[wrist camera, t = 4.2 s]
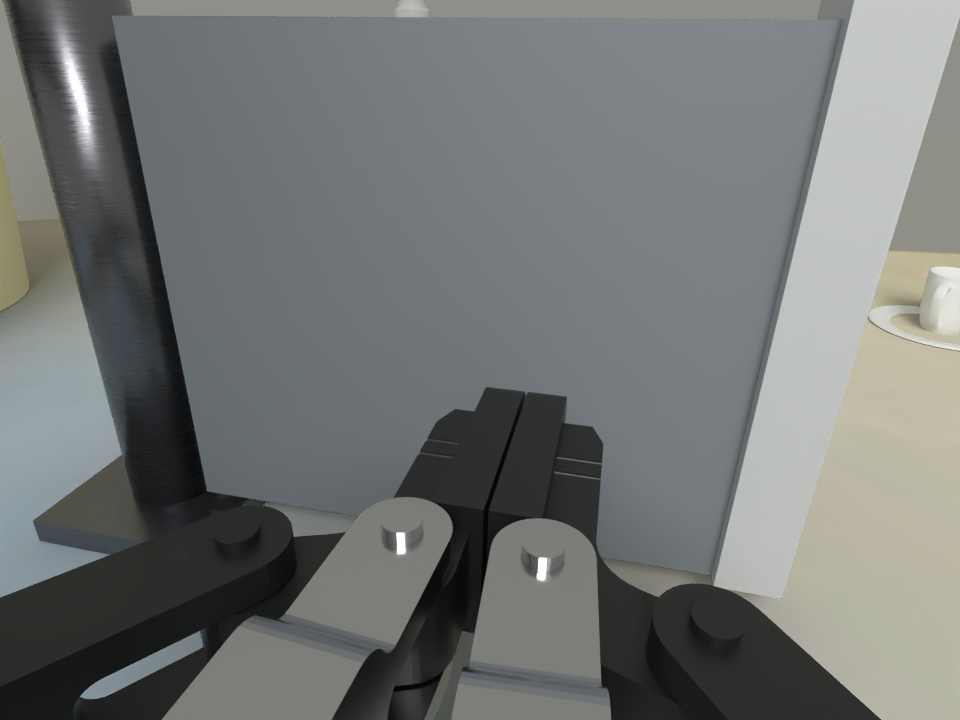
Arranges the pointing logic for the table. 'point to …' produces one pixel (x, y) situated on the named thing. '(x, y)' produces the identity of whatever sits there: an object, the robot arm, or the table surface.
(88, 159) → the gate post
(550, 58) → the gate
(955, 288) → the teacup and saucer
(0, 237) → the cone light
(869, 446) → the table surface
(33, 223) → the table surface
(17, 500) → the table surface
